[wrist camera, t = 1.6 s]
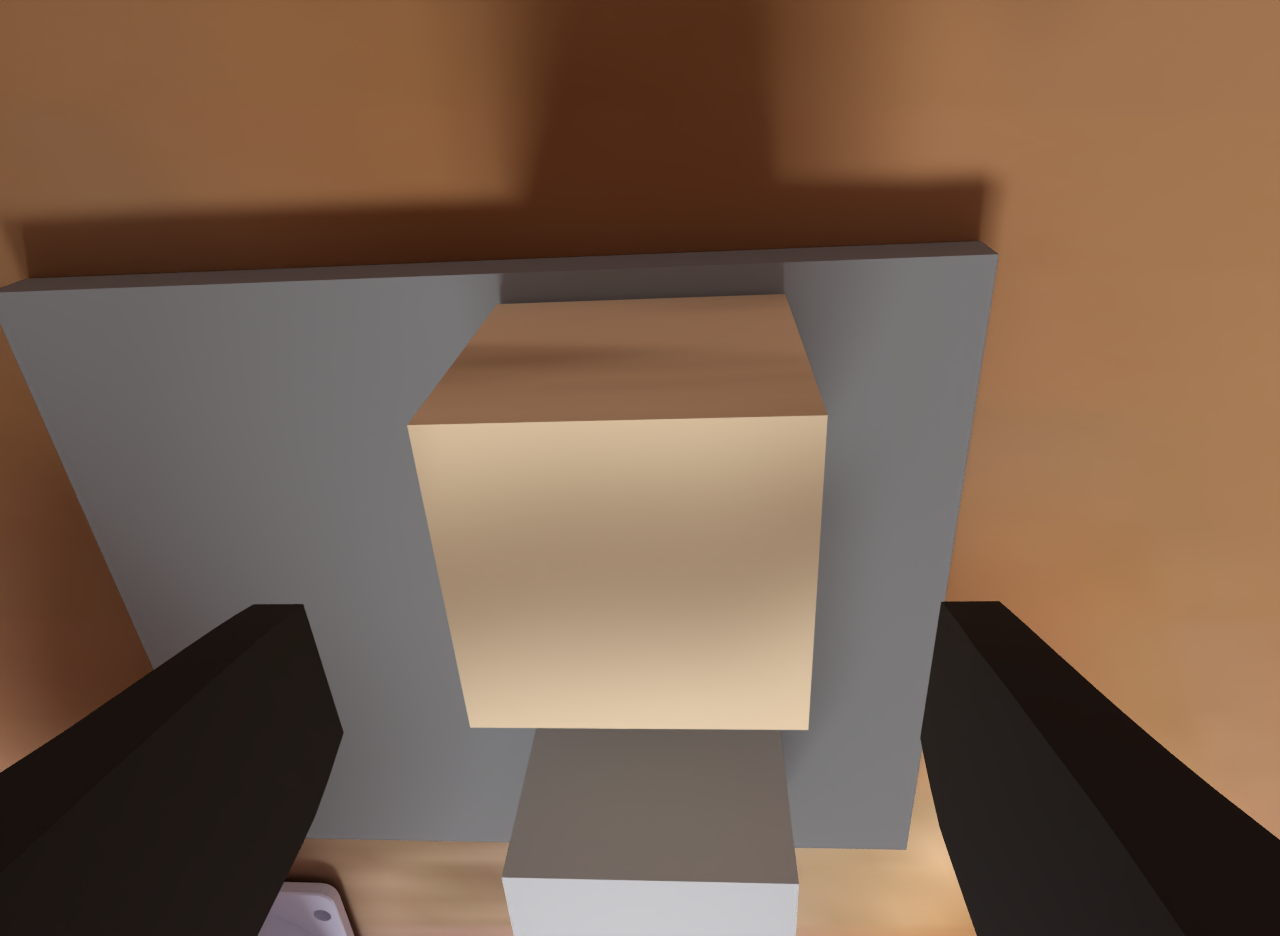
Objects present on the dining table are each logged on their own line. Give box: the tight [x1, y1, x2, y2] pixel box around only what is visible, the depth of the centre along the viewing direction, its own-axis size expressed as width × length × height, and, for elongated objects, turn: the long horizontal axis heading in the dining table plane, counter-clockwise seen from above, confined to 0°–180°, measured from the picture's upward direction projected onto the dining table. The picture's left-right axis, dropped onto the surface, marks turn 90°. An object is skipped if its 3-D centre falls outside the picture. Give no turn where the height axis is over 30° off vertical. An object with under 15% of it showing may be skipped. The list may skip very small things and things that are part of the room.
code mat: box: [0, 241, 999, 850], centre depth 18 cm, size 15×18×1 cm
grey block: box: [502, 728, 799, 936], centre depth 17 cm, size 5×5×5 cm
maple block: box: [407, 294, 828, 730], centre depth 13 cm, size 5×5×5 cm
